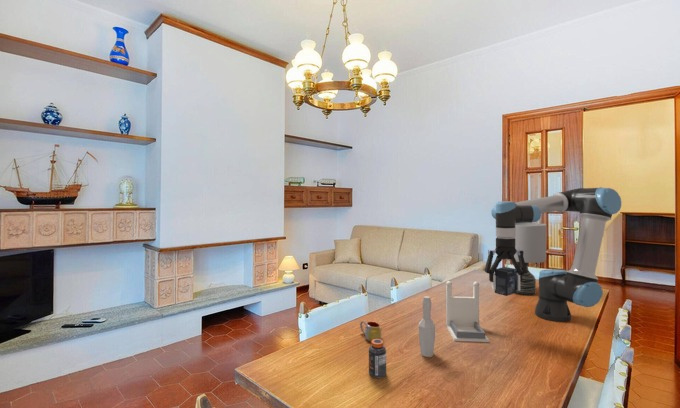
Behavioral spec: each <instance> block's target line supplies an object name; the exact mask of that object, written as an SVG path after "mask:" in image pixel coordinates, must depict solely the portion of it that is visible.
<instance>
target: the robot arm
mask: <svg viewBox="0 0 680 408" xmlns="http://www.w3.org/2000/svg"><path fill="white" fill-rule="evenodd" d="M621 209H622V198H621V196H620V195H619V192H617V190H615V189H614V188H611V187H601V186H600V187H587V188H585V187H579V188H573V189H569V190H564V191H561V192H556V193H553V195H550V196H544V197H538V198H535V199H534V198H533V199H527V200H522V201H521V200H520V201H517V202H515V201H512V200H511V201H497V202H496V203H495V205H494V206H492V208H491V210H490V211H491V212H490V213H491V216H492V218H493V219H495V237H496V238H495V249H488V250H487V254H488V255H487V258H486V259H487V260H486V263H485V267H484V272H485V273H486V274H488V279H489V282H491V289H492V290H493V291H495V290H496V275H495V270H496V269H498V266H499V265H500V263H501V262H502V260H505V259H510V260H511V263H512V265H513V267H514V269H517V273H518V274H517V290H520V282H522V275H524V274H525V273H527V269H526V265H525V261H524V257H523V253H524V252H523V251H522V250H516V249H515V238H514V237H515V224H516V223H538V222H539V221H540V220H541V218H542V214H546V213H552V212H558V213H563V212H572V213H573V212H575V213H576V212H577V213H579V214H578V215H579V216H580V217H581V218H582V219H581V223H580V224H581V225H580V229H579V233H578V239H577V242H576V248H575V252H574V257H573V261H572V265H571V269H569V270H565V269H542V270H540V271H539V274H538V275H539V276H538V301H537V302H536V306H535V308H534V315H535V316H537V317H538V318H541V319H544V320H548V321H551V322H559V323H561V322H562V323H563V322H566V323H567V322H570V321H571V320H572V313H571V310H570V308H569V304H568V302H569V303H572V304H575V305H576V306H579V307H580V306H581V307H585V308H591V307H594V306H596V305H597V304H598V303H600V301H601V299H602V297H603V289H602V288H603V287H602V285H601V284H600V283H599V282H598V281H599V278H598V276H596V270H597V267H598V261H599V255H600V253H601V247H602V244H603V243H602V242H603V237H604V233H605V230H606V229H605V228H606V223H607V222H609V221H611V220H612V216H613V215H616V214H618V213H619V212H620V211H621ZM515 253H517V255H518V258H519V262H520V266H521V269H520V267H519V265H518V264H517V262H516V259H515V258H514V255H515ZM495 254H496V257H495V260H494V262H493V259H494V255H495ZM492 262H493V263H492Z"/></svg>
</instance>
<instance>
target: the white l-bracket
mask: <svg viewBox="0 0 680 408" xmlns="http://www.w3.org/2000/svg"><path fill="white" fill-rule="evenodd" d="M452 285H453V283H452V281H450V280H447V281H445V289H446V290H445V300H446V301H445V306H446V307H445V308H446V309H445V315H446V316H445V319H446V321H445V326H446V329H447V331H448V332H449V334H450V335H451V338H452V339H453V341H454V342H472V343H473V342H474V343H490V338H488V337H487V335H486V332H485V331H484V329H483V328H482V327H481V325H480V283H479V282H478V281H474V282H473V283H472V286H473V288H472V296H452V294H453V293H452V292H453V291H452V288H453V287H452Z"/></svg>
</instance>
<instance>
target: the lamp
mask: <svg viewBox="0 0 680 408" xmlns="http://www.w3.org/2000/svg"><path fill="white" fill-rule="evenodd" d="M514 238H515V249H516V250H522V251H523V252H524V253H523V257H524V261H525V265H526V269H527V273H525V274H524V275H522V282H520V290H517V293H514V294H516V295H520V296H527V297H528V296H529V297H530V296H535V295H536V293H537V292H536V291H537V288H536V287H537V285H536V283H537V282H536V281H537V280H536V277H535V276H534V274H533V273H531V271H530V270H529V267H528V266H529V263H531V264H538V263H540V264H541V263H545V262H546V261H547V224H546V223H540V222H532V223H516V224H515V237H514ZM514 258H515V259H516V262H517V264H518V265H519V267H520V269H521V266H520V262H519V258H518V255H517V253H515V255H514ZM504 260H506V261H511V260H510V259H504ZM517 274H518V273H517Z"/></svg>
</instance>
